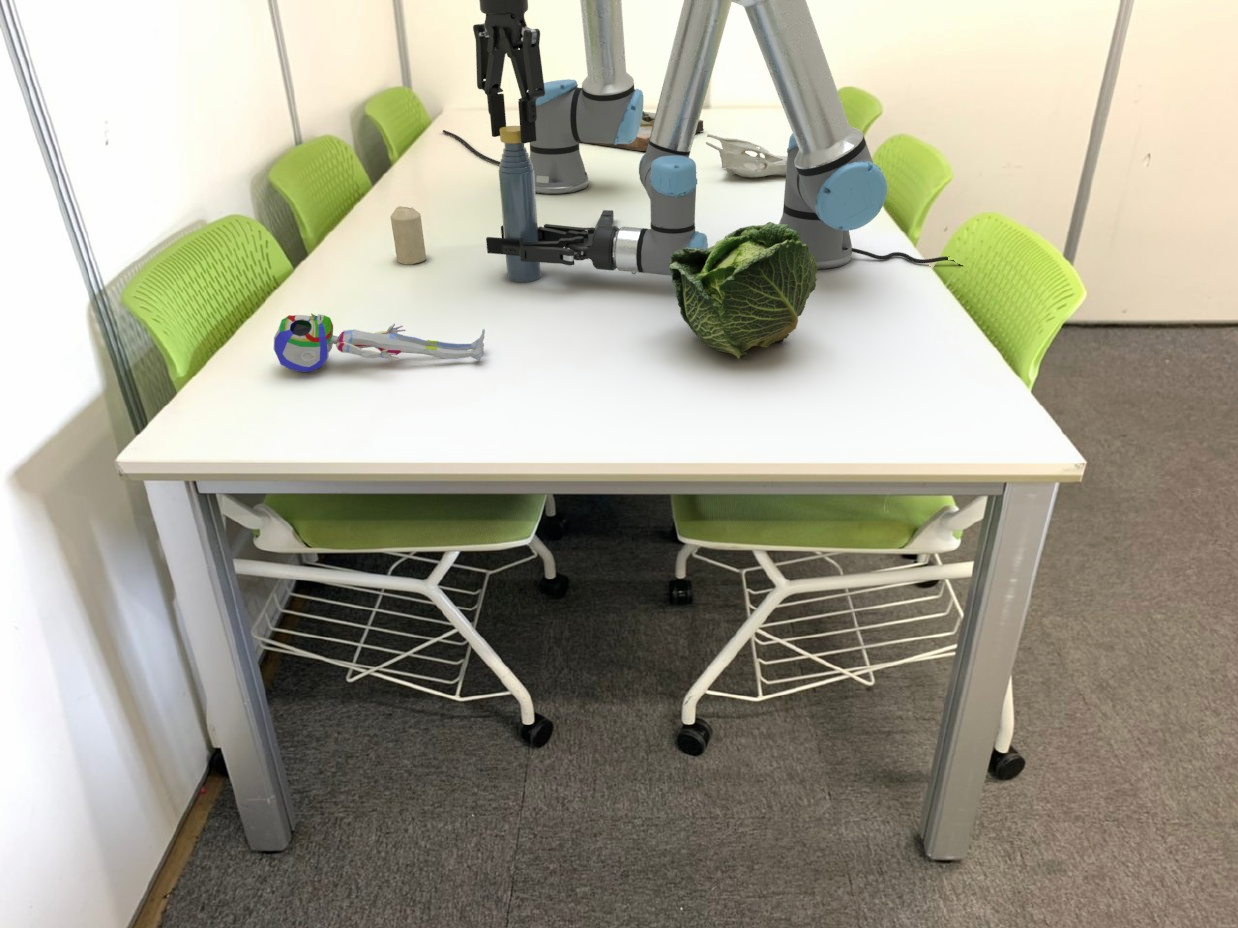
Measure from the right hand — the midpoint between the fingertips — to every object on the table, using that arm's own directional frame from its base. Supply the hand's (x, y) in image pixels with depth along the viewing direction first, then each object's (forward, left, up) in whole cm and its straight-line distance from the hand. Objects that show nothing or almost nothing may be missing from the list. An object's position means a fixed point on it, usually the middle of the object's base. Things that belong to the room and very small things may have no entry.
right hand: (495, 239), depth 162 cm
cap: (-5, +2, +19) cm, 20 cm away
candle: (+16, -11, -7) cm, 20 cm away
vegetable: (-35, +38, -7) cm, 53 cm away
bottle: (-5, +2, -7) cm, 8 cm away
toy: (+18, +35, -7) cm, 40 cm away
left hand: (-5, +2, +18) cm, 18 cm away
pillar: (-22, -18, -7) cm, 29 cm away
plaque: (-44, -106, -7) cm, 115 cm away
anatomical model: (-66, -57, -7) cm, 87 cm away
